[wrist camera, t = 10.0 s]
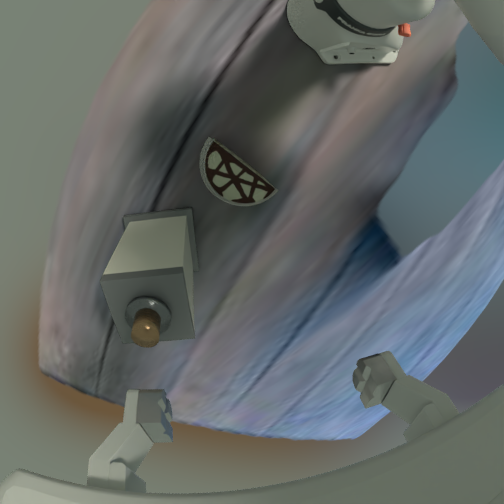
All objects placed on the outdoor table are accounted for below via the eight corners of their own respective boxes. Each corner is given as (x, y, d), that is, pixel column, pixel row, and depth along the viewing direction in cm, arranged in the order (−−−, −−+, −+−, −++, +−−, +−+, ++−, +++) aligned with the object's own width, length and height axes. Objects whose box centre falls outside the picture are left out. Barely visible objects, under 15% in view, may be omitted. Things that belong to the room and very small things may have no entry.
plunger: (177, 234, 45) (169, 310, 28) (183, 272, 48) (181, 356, 31) (135, 238, 43) (106, 314, 27) (143, 276, 47) (125, 359, 30)
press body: (191, 207, 48) (190, 264, 31) (198, 268, 54) (203, 342, 37) (124, 215, 46) (90, 274, 29) (137, 274, 52) (118, 348, 35)
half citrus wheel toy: (183, 162, 44) (180, 175, 36) (207, 132, 43) (209, 137, 34) (242, 204, 50) (252, 226, 41) (265, 177, 48) (281, 193, 39)
